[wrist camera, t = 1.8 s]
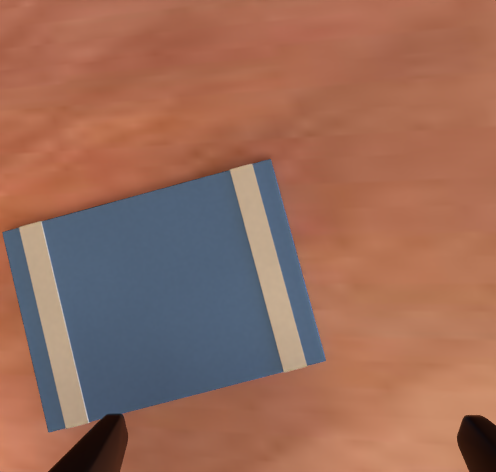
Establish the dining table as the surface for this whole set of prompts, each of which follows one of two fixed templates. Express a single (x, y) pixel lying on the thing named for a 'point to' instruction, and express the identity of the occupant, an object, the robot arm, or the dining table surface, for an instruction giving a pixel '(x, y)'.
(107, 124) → the dining table surface
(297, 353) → the towel
